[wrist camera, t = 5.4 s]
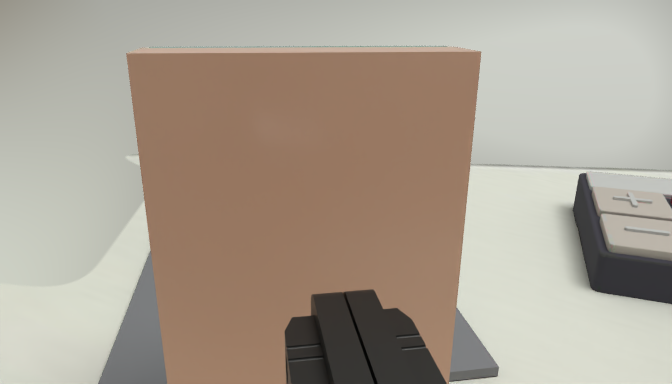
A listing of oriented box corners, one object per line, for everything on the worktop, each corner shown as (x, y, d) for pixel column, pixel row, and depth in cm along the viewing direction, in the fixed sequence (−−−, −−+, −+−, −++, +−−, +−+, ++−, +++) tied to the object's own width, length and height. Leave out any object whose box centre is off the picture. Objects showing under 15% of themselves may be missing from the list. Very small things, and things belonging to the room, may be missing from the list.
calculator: (602, 243, 30) (580, 163, 44) (589, 304, 32) (571, 210, 45) (833, 274, 27) (734, 177, 40) (805, 341, 29) (719, 227, 42)
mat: (497, 375, 24) (498, 367, 24) (89, 420, 21) (87, 411, 21) (387, 216, 43) (388, 210, 43) (162, 229, 40) (161, 223, 40)
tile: (442, 446, 20) (481, 51, 15) (179, 480, 19) (126, 53, 14) (422, 401, 23) (450, 46, 18) (186, 428, 21) (143, 47, 16)
